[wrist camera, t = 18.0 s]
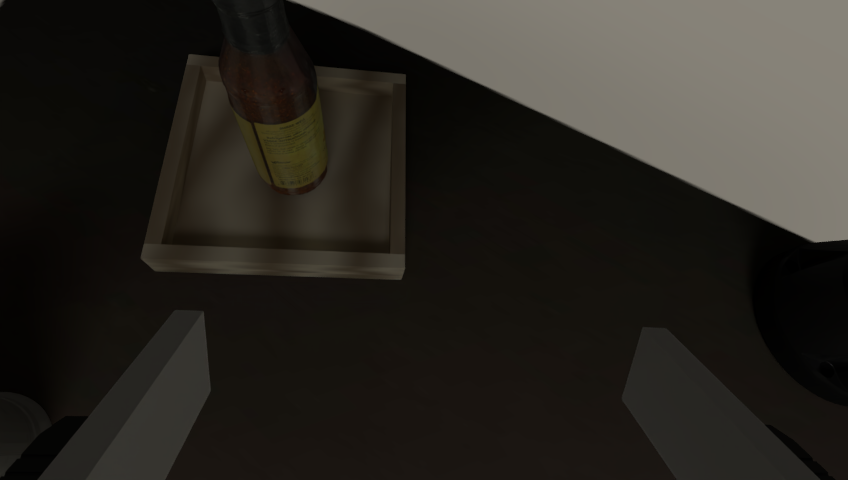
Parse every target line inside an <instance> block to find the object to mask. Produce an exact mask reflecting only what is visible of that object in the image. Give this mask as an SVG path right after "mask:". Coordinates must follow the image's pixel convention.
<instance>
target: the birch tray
mask: <svg viewBox="0 0 848 480" xmlns="http://www.w3.org/2000/svg"><path fill="white" fill-rule="evenodd" d="M218 60H219V57H213V56H202V55H191V54H189V56H188V60H187V65H186V69H185V73H184V77H183V81H182V86H181V90H180V94H179V98H178V103H177V107H176V111H175V115H174V119H173V124H172V128H171V132H170V136H169V141H168V145H167V149H166V153H165V157H164V162H163V166H162V170H161V174H160V179H159V183H158V187H157V191H156V195H155V200H154V204H153V208H152V212H151V217H150V221H149V225H148V229H147V233H146V238H145V242H144V246H143V250H142V255H141V259H142V260H143V261H144V262H145V263H147V264H148V265H149V266H150V267H151V268H152V269H153V270H155V271H160V272H189V273H219V274H248V275H277V276H307V277H336V278H365V279H395V280H401V279H402V276H403V273H404V269H405V143H406V74H396V73H385V72H374V71H364V70H353V69H342V68H331V67H321V66H314V67H315V71H316V75H317V82H318V87H319V95H320V100H321V109H322V115H323V122H324V129H325V136H326V143H327V151H328V162H327V173H326V175H325V178H324V179H323V180H322V182H321V184H319V185H318V186H317V187H316V188H315V189H314V190H312V191H310V192H308V193H304V194H301V195H284V194H280V193H278V192H276V191H275V190H273V189H272V188H270V187H269V186H268V185H267V184H266V183H265V182H264V180H263V179H262V178H261V177H260V175H259V173H258V172H257V169H256V167H255V165H254V162H253V160H252V157H251V155H250V152H249V150H248V147H247V145H246V142H245V140H244V137H243V135H242V132H241V130H240V127H239V125H238V123H237V120H236V118H235V115H234V113H233V110H232V108H231V105H230V103H229V100H228V94H227V91H226V88H225V86H224V85H223V82H222V79H221V76H220V73H219V66H218Z"/></svg>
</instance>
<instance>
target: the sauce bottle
mask: <svg viewBox="0 0 848 480" xmlns="http://www.w3.org/2000/svg"><path fill="white" fill-rule="evenodd" d="M212 1H213V2H214V3H215V5H216V8H217V11H218V13H219V17H220V20H221V23H222V31H223V33H224V35H225V37H224V41H223V45H222V49H221V53H220V57H219V60H218V66H219V73H220V76H221V79H222V82H223V85H224V86H225V88H226V91H227V94H228V100H229V103H230V105H231V108H232V110H233V113H234V115H235V118H236V120H237V123H238V125H239V127H240V130H241V132H242V135H243V137H244V140H245V142H246V145H247V147H248V150H249V152H250V155H251V157H252V160H253V162H254V165H255V167H256V169H257V172H258V173H259V175H260V177H261V178H262V179H263V180H264V182H265V183H266V184H267V185H268V186H269V187H270V188H272V189H273V190H275V191H276V192H278V193H280V194H284V195H301V194H304V193H308V192H310V191H312V190H314V189H315V188H316V187H317V186H318V185H319V184H321V182H322V180H323V179H324V178H325V175H326V173H327V162H328V151H327V143H326V136H325V129H324V122H323V115H322V109H321V100H320V95H319V87H318V82H317V75H316V71H315V67H314V65H313V62H312V60H311V59H310V57H309V55H308V54H307V52H306V51H305V49H304V47H303V46H302V44H301V43H300V41H299V39H298V38H297V36H296V35H295V33H294V31H293V30H292V28H291V27H290V25H289V21H288V19H287V16H286V12H285V7H284V2H283V0H212Z"/></svg>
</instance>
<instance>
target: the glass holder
mask: <svg viewBox="0 0 848 480" xmlns="http://www.w3.org/2000/svg"><path fill="white" fill-rule="evenodd" d="M51 426H52V424H51V421H50V419H49V417H48V415H47V414H46V412H45V410H44V409H43V408H42V407H41V406H40V405H39V404H38V403H36V402H35V401H33V400H32V399H30V398H28V397H26V396H23V395H21V394H17V393H11V392H0V477H1V476H4V475H5V472H6V471H7V469H8V468H9V467H10V466H11V465H12V464H13V463H14V462H15V461H16V459H20V457H21V454H22V453H23V452H24V451H25V450H26V448H27V447H28V446H29V445H30V444H31V443H32V442H33V441H34V440H35V438H36V437H37V436H38V435H39V434H40V433H42V432H43V431H45V430H46V429H48V428H49V427H51Z"/></svg>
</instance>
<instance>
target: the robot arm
mask: <svg viewBox="0 0 848 480" xmlns="http://www.w3.org/2000/svg"><path fill="white" fill-rule="evenodd" d="M754 302H755V311H756V316H757V320H758V324H759V327H760V330H761V332H762V335H763V337H764V339H765V341H766V343H767V345H768V347H769V348H770V350H771V352H772V353H773V355H774V356H775V358H776V359H777V360H778V362H779V363H780V364H781V365H782V367H783V368H784V369H785V370H786V371H787V372H788V373H789V374H790V375H791V376H792V377H793V378H794V379H795V380H796V381H797V382H798V383H800V384H801V385H802V386H804V387H805V388H806V389H808V390H809V391H811V392H812V393H814V394H815V395H817V396H819V397H821V398H823V399H825V400H827V401H830V402H833V403H835V404H839V405H843V406H848V240H841V241H828V242H817V243H809V244H805V245H801V246H798V247H795V248H793V249H791V250H788V251H786V252H784V253H781V254H779V255H777V256H775V257H774V258H772V259H771V260H770V261H769V262H768V263H767V264H766V265H765V266H764V267H763V269H762V270H761V272H760V274H759V276H758V279H757V282H756V287H755V295H754ZM210 391H211V389H210V378H209V367H208V355H207V344H206V333H205V322H204V311H187V310H175V311H174V312H173V313H172V314H171V316H170V317H169V318H168V319H167V321H166V322H165V323H164V324H163V326H162V327H161V328H160V329H159V330H158V332H157V333H156V334H155V335H154V337H153V338H152V339H151V340H150V342H149V343H148V344H147V345H146V347H145V348H144V349H143V350H142V351H141V353H140V354H139V355H138V356H137V358H136V359H135V360H134V361H133V363H132V364H131V365H130V366H129V367H128V369H127V370H126V371H125V372H124V374H123V375H122V376H121V377H120V379H119V380H118V381H117V382H116V383H115V385H114V386H113V387H112V388H111V390H110V391H109V392H108V393H107V395H106V396H105V397H104V398H103V400H102V401H101V402H100V403H99V404H98V406H97V407H96V408H95V409H94V411H93V412H92V413H91V414H90V416H89V417H87V416H65V417H64V418H62V419H61V420H59V421H58V422H56V423H55V424H53V425H52V426H51V427H49V428H48V429H46V430H45V431H43V432H42V433H40V434H39V435H38V436H37V437H36V438H35V440H34V441H33V442H32V443H31V444H30V445H29V446H28V447H27V448H26V450H25V451H24V452H23V453H22V454H21V457H20V459H16V461H15V462H14V463H13V464H12V465H11V466H10V467H9V468H8V469H7V471H6V472H5V475H4V476H1V477H0V480H165V479H166V477H167V475H168V473H169V471H170V469H171V467H172V465H173V463H174V461H175V459H176V457H177V455H178V453H179V451H180V449H181V448H182V446H183V444H184V442H185V440H186V438H187V436H188V434H189V432H190V430H191V428H192V426H193V424H194V422H195V420H196V418H197V416H198V414H199V412H200V410H201V409H202V407H203V405H204V403H205V401H206V399H207V397H208V395H209V393H210ZM622 400H623V402H624V403H625V405H626V406H627V407H628V409H629V410H630V412H631V413H632V415H633V416H634V418H635V419H636V421H637V422H638V424H639V425H640V426H641V428H642V429H643V431H644V432H645V434H646V435H647V437H648V438H649V440H650V441H651V443H652V444H653V445H654V447H655V448H656V450H657V451H658V453H659V454H660V456H661V457H662V459H663V460H664V462H665V463H666V464H667V466H668V467H669V469H670V470H671V472H672V473H673V475H674V476H675V478H676V479H677V480H835V479H834V478H833V477H832V476H828V472H827V471H826V470H825V469H824V468H822V467H821V466H820V465H819V464H818V463H817V462H814V461H813V460H812V457H811V456H810V455H809V454H808V453H807V452H806V451H805V450H803V449H802V448H801V447H800V446H799V445H798V444H797V443H796V442H795V441H794V440H793V439H791V438H789V437H788V436H786V435H785V434H783V433H782V432H780V431H779V430H777V429H776V428H774V427H773V426H771V425H764V424H763V423H762V422H761V421H760V420H759V419H758V418H757V417H756V416H755V415H754V414H753V413H752V412H751V411H750V410H749V409H748V408H747V407H746V406H745V405H744V404H743V403H742V402H741V401H740V400H739V399H738V398H737V397H736V396H735V395H734V394H733V393H732V392H731V391H729V390H728V389H727V388H726V387H725V386H724V385H723V384H722V383H721V382H720V381H719V380H718V379H717V378H716V377H715V376H714V375H713V374H712V373H711V372H710V371H709V370H708V369H707V368H706V367H705V366H704V365H703V364H702V363H701V362H700V361H699V360H698V359H697V358H696V357H695V356H694V355H693V354H692V353H691V352H690V351H689V350H688V349H687V348H686V347H685V346H684V345H683V344H682V343H681V342H679V341H678V340H677V339H676V338H675V337H674V336H673V335H672V334H671V333H670V332H669V331H668V330H667V329H666V328H648V327H643V328H642V331H641V335H640V338H639V342H638V345H637V348H636V352H635V355H634V359H633V362H632V365H631V369H630V372H629V376H628V379H627V382H626V386H625V389H624V393H623V396H622Z"/></svg>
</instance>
